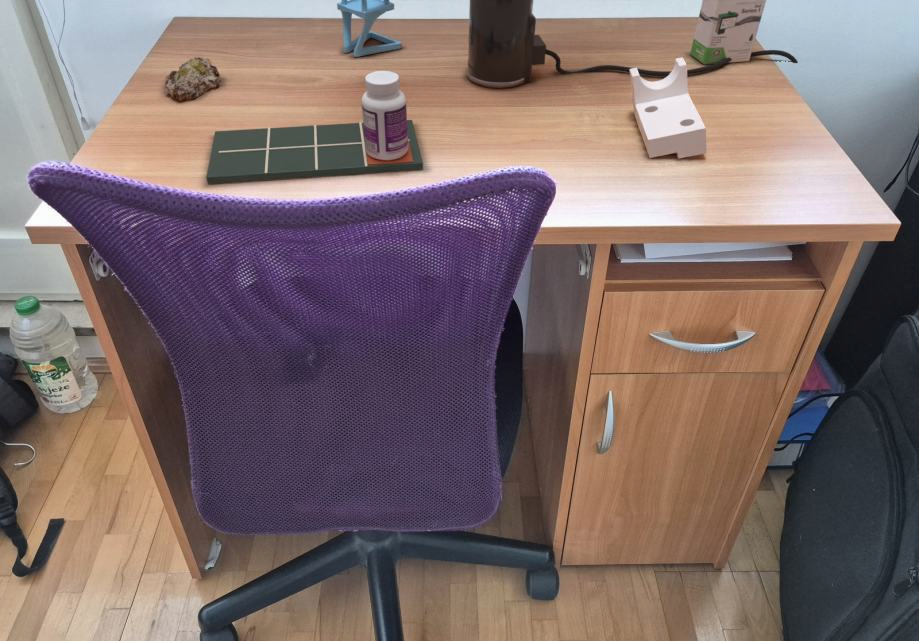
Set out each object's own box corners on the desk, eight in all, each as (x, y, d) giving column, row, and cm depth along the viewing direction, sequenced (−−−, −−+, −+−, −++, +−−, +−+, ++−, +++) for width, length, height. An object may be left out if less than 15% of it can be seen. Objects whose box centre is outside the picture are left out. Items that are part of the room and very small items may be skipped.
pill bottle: (408, 141, 93) (406, 67, 87) (407, 161, 89) (405, 86, 83) (366, 141, 93) (361, 67, 87) (363, 161, 89) (357, 86, 83)
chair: (333, 48, 120) (326, -29, 112) (371, 36, 124) (366, -40, 117) (365, 61, 116) (359, -18, 108) (402, 47, 121) (399, -30, 113)
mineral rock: (171, 56, 110) (218, 44, 108) (186, 82, 113) (231, 71, 111) (143, 87, 103) (192, 75, 101) (159, 115, 105) (208, 104, 103)
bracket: (634, 119, 104) (629, 69, 99) (685, 108, 103) (682, 57, 98) (650, 164, 94) (645, 110, 89) (706, 153, 93) (704, 98, 88)
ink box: (702, 65, 117) (721, -12, 109) (688, 53, 121) (705, -22, 113) (751, 61, 119) (772, -16, 111) (735, 50, 122) (755, -25, 114)
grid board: (412, 126, 99) (412, 118, 98) (423, 169, 90) (423, 161, 90) (216, 138, 96) (214, 129, 95) (207, 184, 87) (205, 175, 86)
